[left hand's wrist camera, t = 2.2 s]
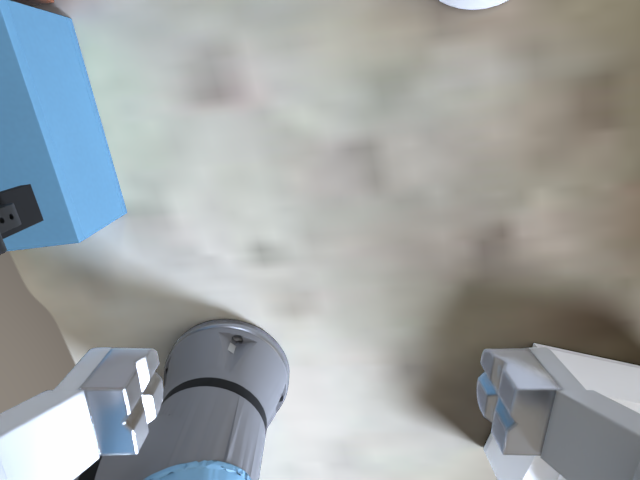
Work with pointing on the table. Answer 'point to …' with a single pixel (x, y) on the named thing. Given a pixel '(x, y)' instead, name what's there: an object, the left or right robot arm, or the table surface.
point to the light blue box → (52, 130)
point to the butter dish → (594, 374)
